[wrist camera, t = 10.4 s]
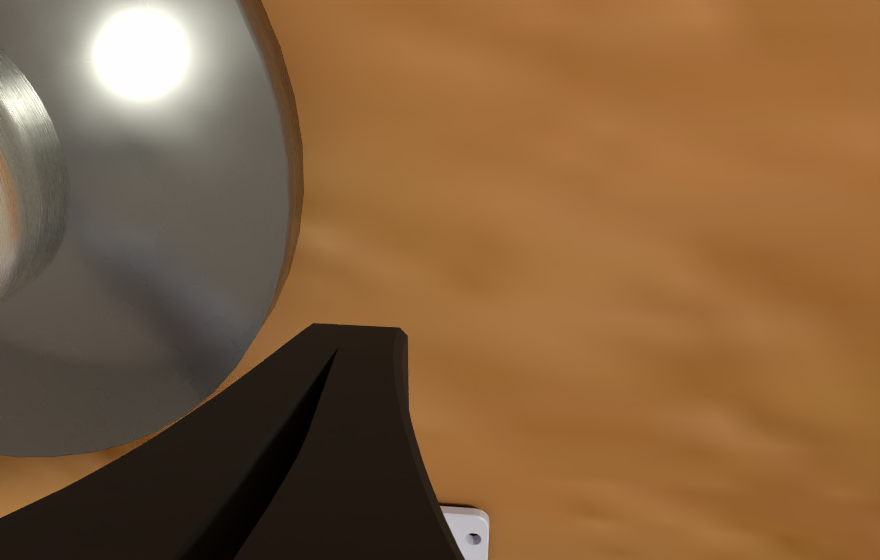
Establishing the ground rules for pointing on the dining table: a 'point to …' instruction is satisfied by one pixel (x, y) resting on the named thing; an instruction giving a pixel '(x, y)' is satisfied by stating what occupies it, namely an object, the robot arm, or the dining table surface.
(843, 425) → the dining table surface
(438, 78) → the dining table surface
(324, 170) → the dining table surface
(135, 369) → the disc
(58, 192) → the cover
